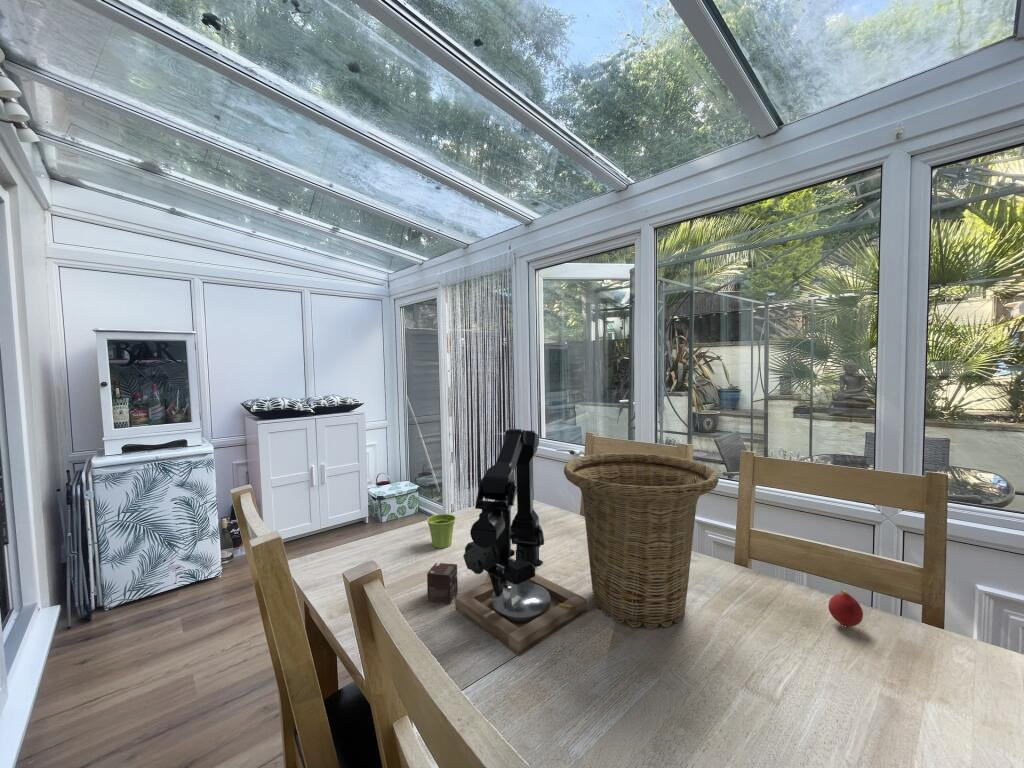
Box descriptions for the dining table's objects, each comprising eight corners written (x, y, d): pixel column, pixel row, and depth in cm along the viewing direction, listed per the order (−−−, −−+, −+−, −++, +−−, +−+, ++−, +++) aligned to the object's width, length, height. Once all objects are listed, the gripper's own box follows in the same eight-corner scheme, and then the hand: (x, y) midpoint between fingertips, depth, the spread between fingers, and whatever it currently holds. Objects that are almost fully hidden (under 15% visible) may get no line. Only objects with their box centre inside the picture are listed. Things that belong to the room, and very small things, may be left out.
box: (450, 605, 101) (449, 575, 101) (426, 602, 103) (426, 573, 102) (458, 591, 107) (457, 563, 107) (436, 589, 109) (435, 562, 108)
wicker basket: (593, 558, 125) (592, 448, 124) (724, 588, 107) (724, 459, 106) (540, 618, 95) (538, 474, 94) (709, 674, 77) (709, 497, 76)
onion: (855, 621, 92) (855, 586, 92) (867, 637, 87) (868, 599, 87) (824, 616, 94) (824, 582, 94) (834, 632, 89) (835, 595, 89)
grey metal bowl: (512, 584, 108) (512, 557, 108) (561, 600, 100) (560, 571, 100) (479, 610, 96) (478, 581, 96) (530, 631, 89) (530, 598, 88)
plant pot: (424, 542, 139) (423, 516, 138) (451, 537, 143) (451, 511, 142) (431, 553, 130) (430, 525, 130) (460, 547, 134) (459, 520, 134)
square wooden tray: (522, 577, 114) (522, 566, 114) (587, 611, 98) (587, 597, 97) (455, 610, 99) (455, 596, 99) (518, 656, 83) (518, 640, 83)
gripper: (445, 526, 96) (446, 592, 97) (497, 553, 82) (497, 630, 83) (483, 514, 104) (483, 576, 105) (537, 538, 90) (536, 608, 91)
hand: (498, 596), depth 96 cm, fingers closed
